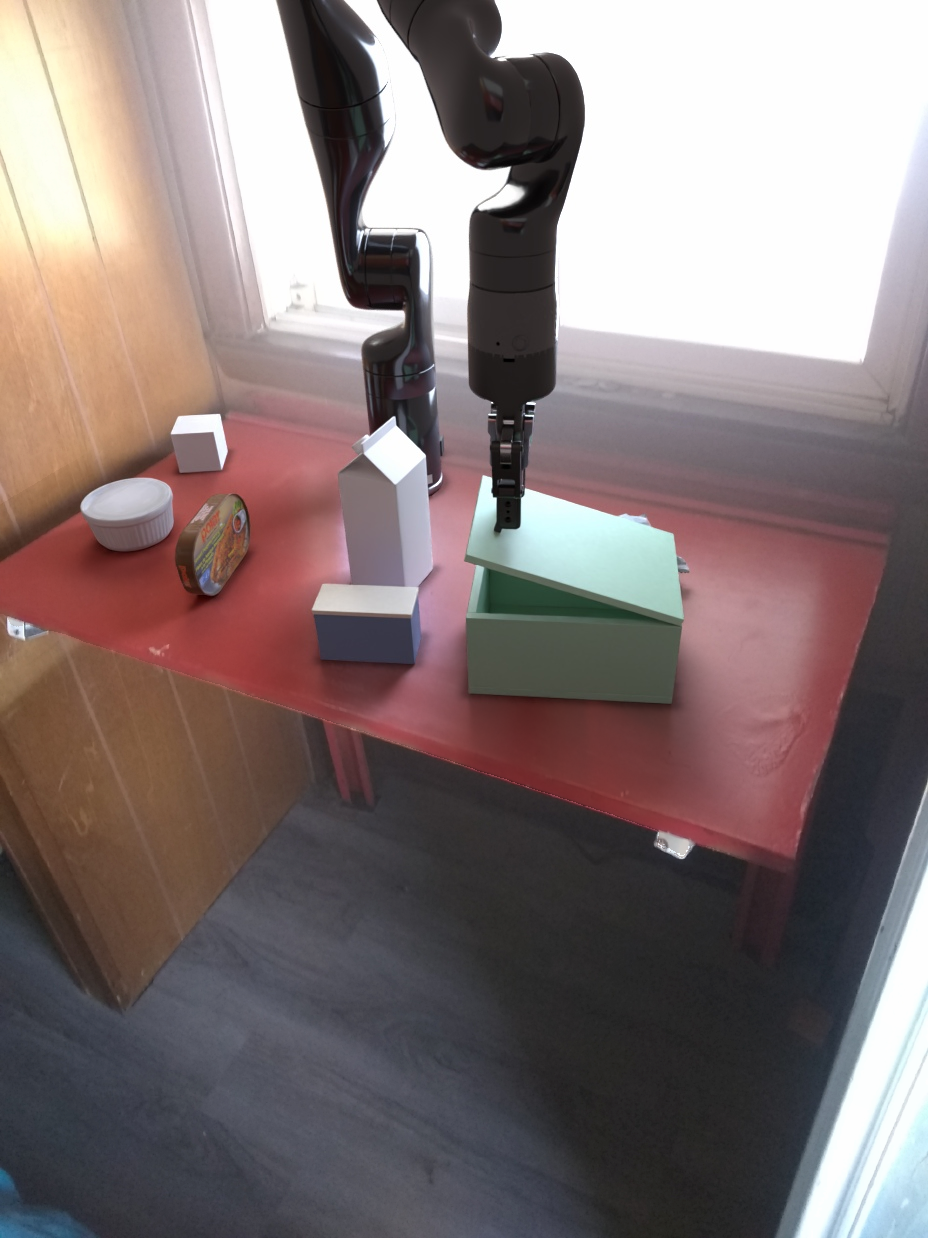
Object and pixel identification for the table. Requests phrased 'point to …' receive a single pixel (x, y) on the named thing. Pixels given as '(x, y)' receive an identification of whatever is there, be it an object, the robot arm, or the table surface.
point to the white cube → (199, 443)
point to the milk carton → (387, 510)
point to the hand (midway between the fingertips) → (511, 510)
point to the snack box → (367, 623)
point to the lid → (580, 553)
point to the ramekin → (129, 513)
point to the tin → (213, 544)
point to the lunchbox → (564, 644)
